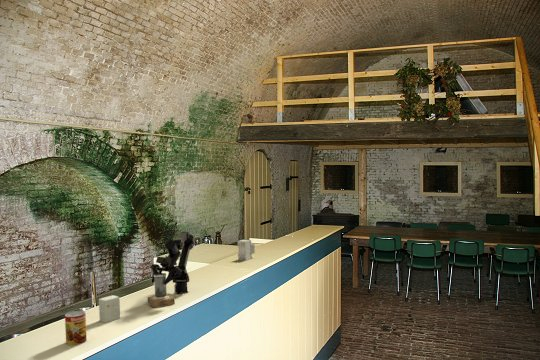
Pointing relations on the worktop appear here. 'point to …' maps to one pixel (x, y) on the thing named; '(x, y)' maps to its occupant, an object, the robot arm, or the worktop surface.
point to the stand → (161, 301)
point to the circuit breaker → (245, 250)
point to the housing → (160, 286)
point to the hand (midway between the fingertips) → (158, 283)
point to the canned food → (75, 327)
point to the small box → (109, 308)
